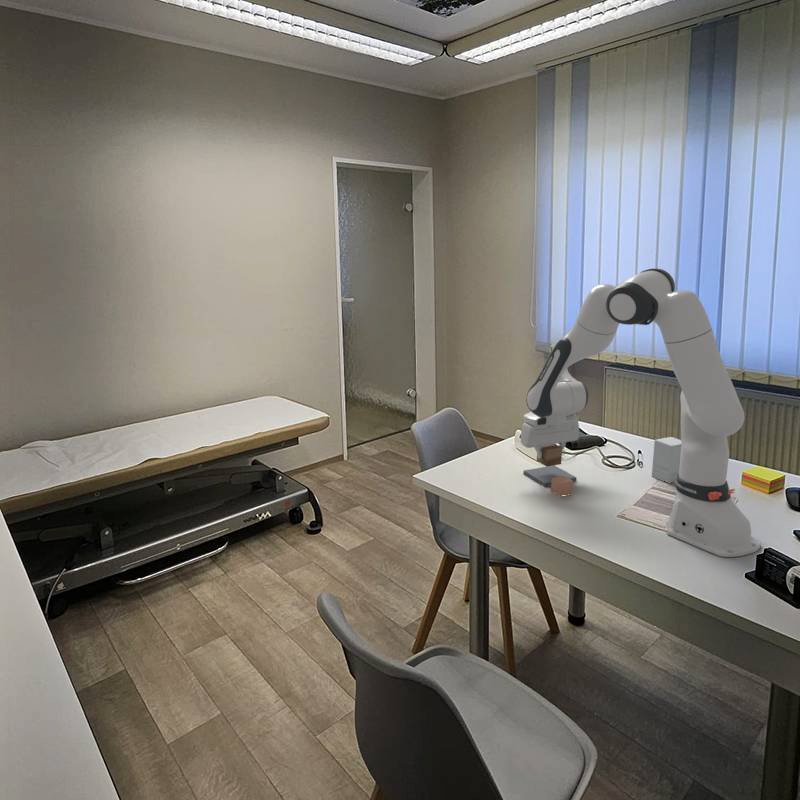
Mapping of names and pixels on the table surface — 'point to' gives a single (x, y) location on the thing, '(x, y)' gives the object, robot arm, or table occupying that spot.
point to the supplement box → (666, 459)
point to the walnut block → (551, 455)
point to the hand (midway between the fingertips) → (549, 456)
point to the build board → (547, 474)
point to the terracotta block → (562, 485)
